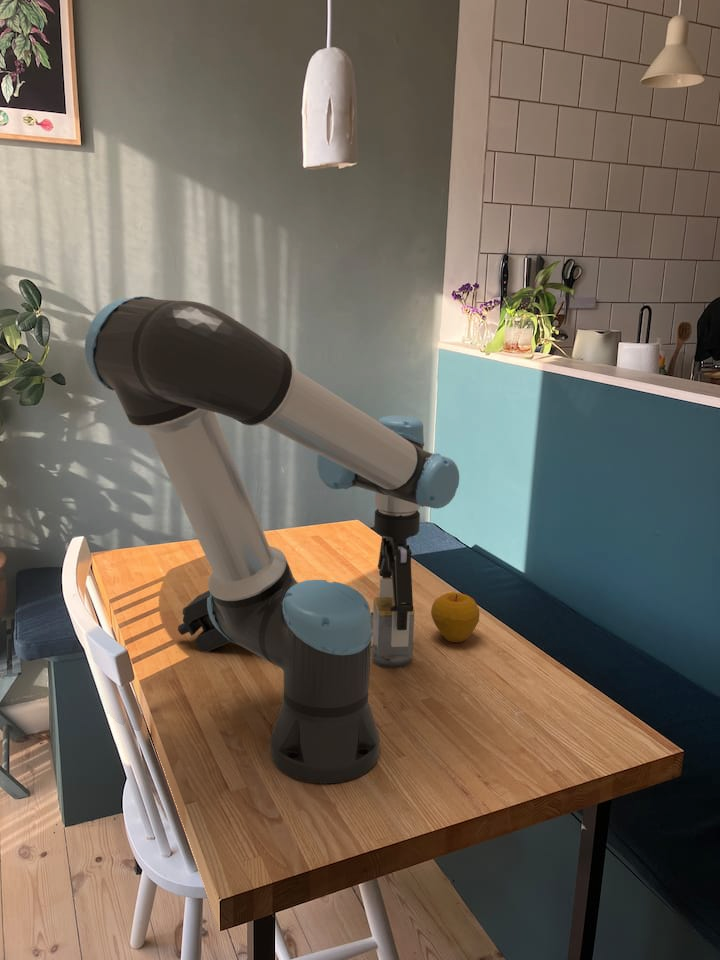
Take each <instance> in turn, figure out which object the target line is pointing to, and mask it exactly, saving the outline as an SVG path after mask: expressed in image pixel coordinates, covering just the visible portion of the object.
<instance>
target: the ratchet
mask: <svg viewBox="0 0 720 960" xmlns="http://www.w3.org/2000/svg"><path fill="white" fill-rule="evenodd" d="M370 618H371V625H372V630H373V612H372V611H370ZM412 656H413V654H412V655H410V656H382V657H377V654H376V651H375V648H374V645H373V644H371V654H370V660H371V661H372V663H373V664H375V665H377V666H379V667H383V668H387V669H400V668H405V667H406V666H408V665H410V664H411V662H412V659H413V657H412Z"/></svg>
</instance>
